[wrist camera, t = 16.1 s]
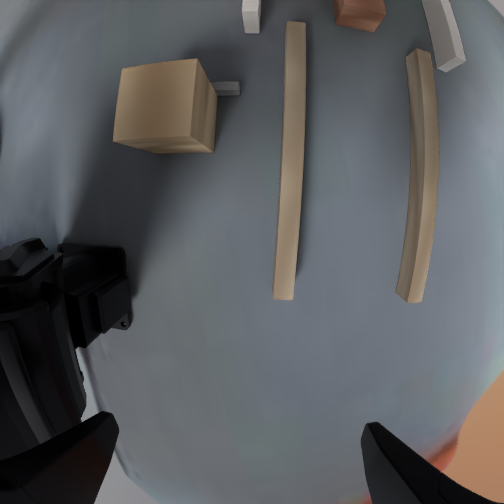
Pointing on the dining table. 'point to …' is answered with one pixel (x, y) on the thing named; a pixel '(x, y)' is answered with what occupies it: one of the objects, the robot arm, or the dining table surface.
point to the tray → (438, 21)
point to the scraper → (169, 107)
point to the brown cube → (359, 13)
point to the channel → (420, 172)
